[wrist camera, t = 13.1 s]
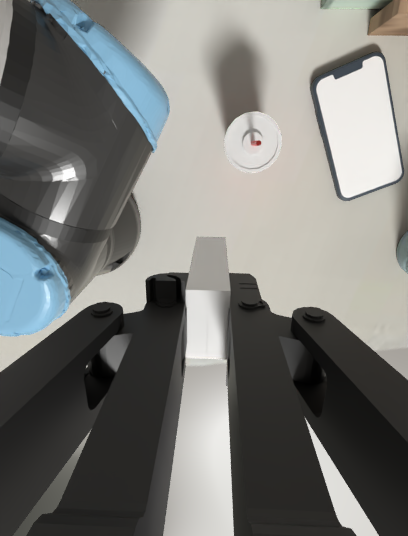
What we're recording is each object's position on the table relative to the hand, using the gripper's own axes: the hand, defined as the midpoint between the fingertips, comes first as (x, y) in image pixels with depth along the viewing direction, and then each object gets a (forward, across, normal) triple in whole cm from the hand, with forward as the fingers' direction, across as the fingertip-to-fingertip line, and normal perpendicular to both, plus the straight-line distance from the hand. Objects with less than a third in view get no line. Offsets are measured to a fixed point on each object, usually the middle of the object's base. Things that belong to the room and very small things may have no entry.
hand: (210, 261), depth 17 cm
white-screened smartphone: (+30, -18, -8) cm, 36 cm away
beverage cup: (+30, -4, -6) cm, 30 cm away
